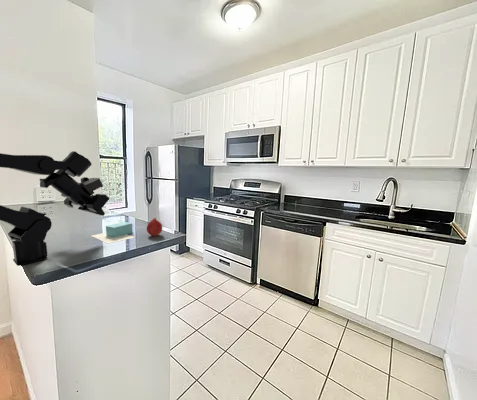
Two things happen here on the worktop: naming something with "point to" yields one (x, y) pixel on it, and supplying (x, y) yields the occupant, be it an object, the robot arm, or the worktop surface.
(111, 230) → the block
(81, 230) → the worktop surface
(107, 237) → the mat
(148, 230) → the onion
